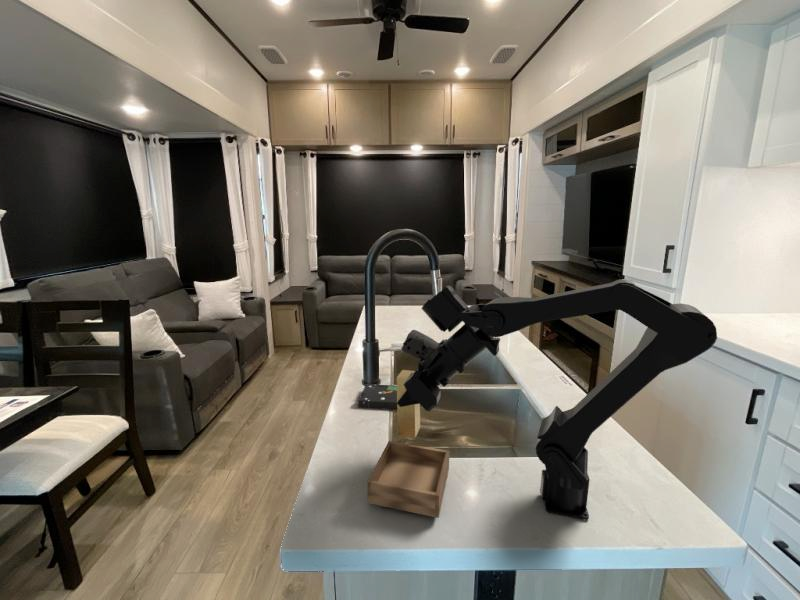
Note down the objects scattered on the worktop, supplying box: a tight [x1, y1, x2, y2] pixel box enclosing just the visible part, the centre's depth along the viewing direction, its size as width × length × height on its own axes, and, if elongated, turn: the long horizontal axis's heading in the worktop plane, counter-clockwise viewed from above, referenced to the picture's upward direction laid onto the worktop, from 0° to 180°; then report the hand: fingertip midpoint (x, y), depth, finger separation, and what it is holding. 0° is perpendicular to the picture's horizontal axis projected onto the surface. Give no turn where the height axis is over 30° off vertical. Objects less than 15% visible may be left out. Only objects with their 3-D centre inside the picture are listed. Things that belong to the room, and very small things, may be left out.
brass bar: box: [396, 369, 421, 439], centre depth 70 cm, size 4×4×12 cm
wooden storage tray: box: [366, 440, 450, 519], centre depth 64 cm, size 12×12×5 cm
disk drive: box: [357, 383, 397, 411], centre depth 98 cm, size 10×3×15 cm
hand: (402, 399), depth 70 cm, fingers closed on brass bar, 4 cm apart
